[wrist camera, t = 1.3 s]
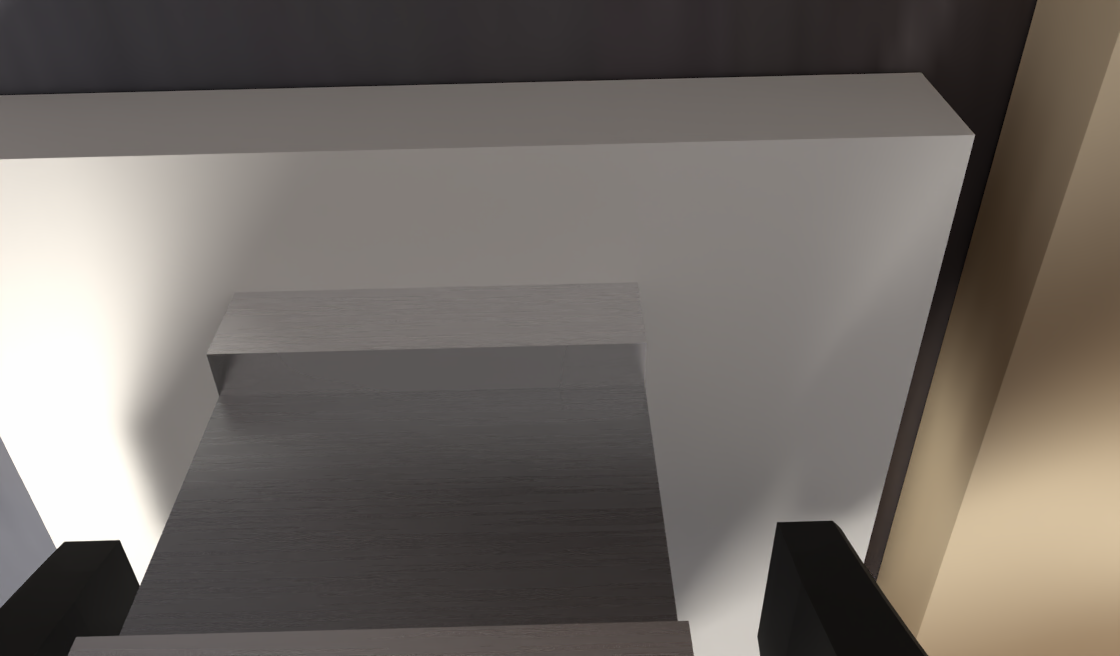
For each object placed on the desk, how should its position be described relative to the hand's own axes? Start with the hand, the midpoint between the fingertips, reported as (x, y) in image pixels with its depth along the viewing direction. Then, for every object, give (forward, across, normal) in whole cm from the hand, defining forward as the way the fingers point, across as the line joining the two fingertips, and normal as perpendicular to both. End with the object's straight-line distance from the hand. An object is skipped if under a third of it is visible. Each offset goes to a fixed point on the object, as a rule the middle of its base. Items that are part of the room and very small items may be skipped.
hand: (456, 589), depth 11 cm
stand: (+2, 0, 0) cm, 2 cm away
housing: (+1, 0, 0) cm, 1 cm away
